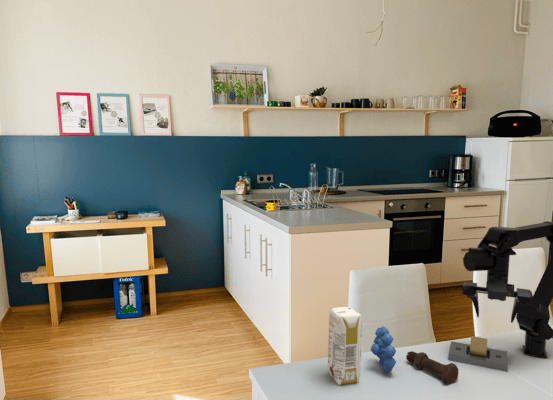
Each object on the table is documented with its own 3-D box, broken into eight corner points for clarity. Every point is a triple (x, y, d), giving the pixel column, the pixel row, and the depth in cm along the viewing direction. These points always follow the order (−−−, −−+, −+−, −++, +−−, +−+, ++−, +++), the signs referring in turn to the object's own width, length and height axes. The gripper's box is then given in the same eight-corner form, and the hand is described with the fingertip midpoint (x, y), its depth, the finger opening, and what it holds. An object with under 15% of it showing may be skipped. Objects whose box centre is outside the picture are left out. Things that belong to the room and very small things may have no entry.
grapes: (362, 360, 134) (363, 321, 133) (384, 358, 135) (385, 320, 134) (376, 379, 123) (378, 337, 121) (400, 378, 124) (402, 336, 122)
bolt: (410, 367, 134) (454, 387, 122) (400, 362, 132) (444, 383, 119) (417, 348, 135) (461, 367, 123) (407, 343, 133) (451, 362, 120)
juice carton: (337, 387, 118) (339, 318, 116) (325, 372, 127) (326, 307, 125) (363, 383, 120) (365, 315, 118) (349, 369, 129) (351, 304, 127)
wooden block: (470, 354, 139) (471, 336, 138) (486, 357, 137) (487, 338, 136) (469, 360, 135) (470, 341, 134) (485, 363, 133) (487, 344, 132)
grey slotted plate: (451, 347, 144) (451, 340, 144) (506, 357, 137) (507, 351, 137) (448, 359, 135) (448, 353, 135) (507, 371, 128) (508, 364, 128)
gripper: (462, 271, 131) (459, 323, 133) (536, 280, 123) (531, 334, 125) (464, 263, 141) (462, 311, 143) (532, 271, 133) (529, 321, 135)
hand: (494, 319), depth 136 cm, fingers open, 9 cm apart
